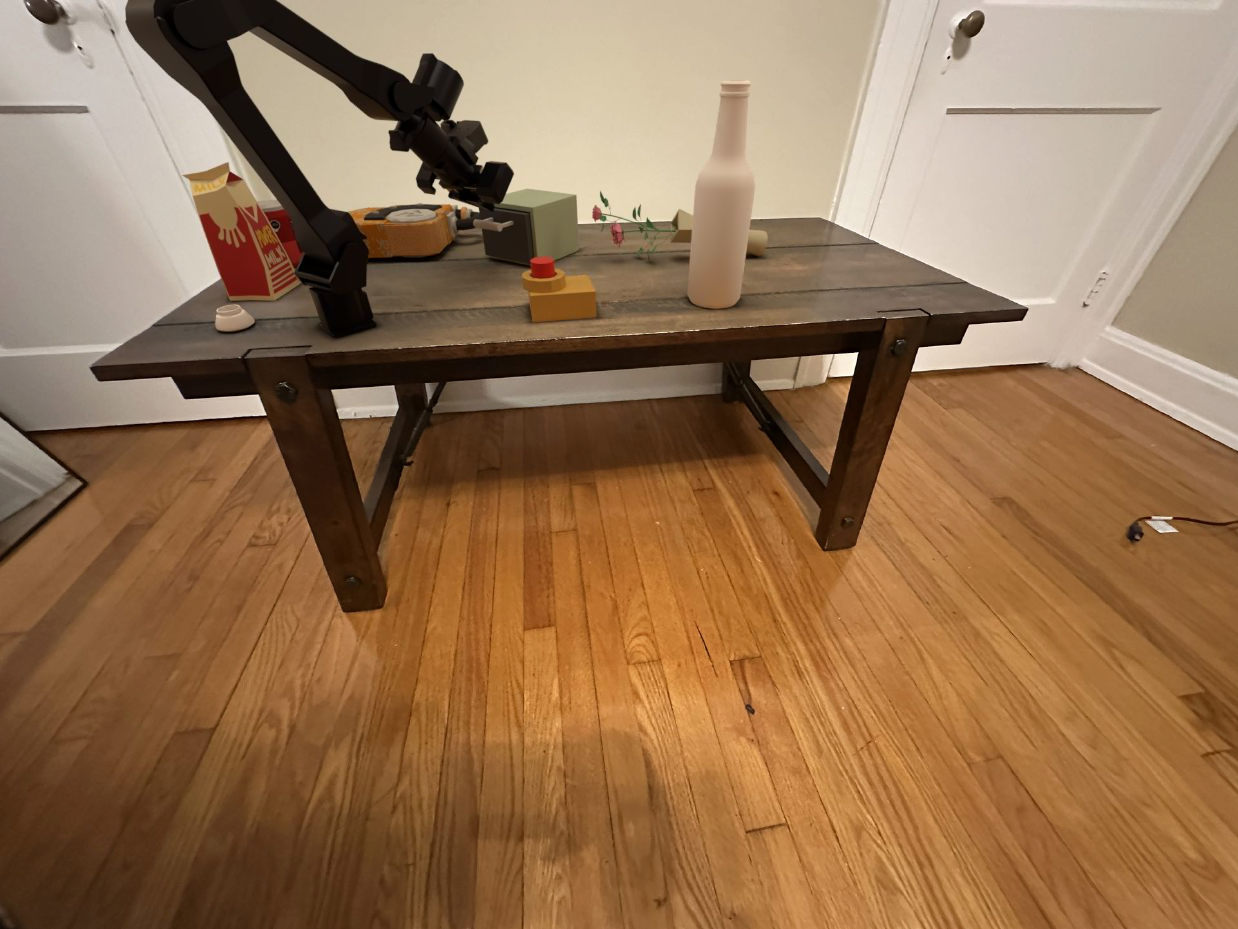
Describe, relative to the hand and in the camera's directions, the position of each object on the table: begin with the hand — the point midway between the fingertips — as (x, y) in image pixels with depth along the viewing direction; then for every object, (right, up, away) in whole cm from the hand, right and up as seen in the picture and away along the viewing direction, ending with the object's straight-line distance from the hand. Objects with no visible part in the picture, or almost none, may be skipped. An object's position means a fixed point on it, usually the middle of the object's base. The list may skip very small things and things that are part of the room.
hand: (492, 209), depth 98 cm
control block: (+14, -22, -12) cm, 29 cm away
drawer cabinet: (+6, -3, +14) cm, 15 cm away
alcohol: (+39, -20, -8) cm, 45 cm away
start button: (+12, -18, -16) cm, 27 cm away
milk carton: (-39, -17, -4) cm, 43 cm away
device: (-22, 0, +18) cm, 28 cm away
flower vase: (+36, -6, +10) cm, 38 cm away
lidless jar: (-35, -26, -17) cm, 47 cm away
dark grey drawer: (+3, -4, +10) cm, 11 cm away
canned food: (-43, -7, +9) cm, 44 cm away
